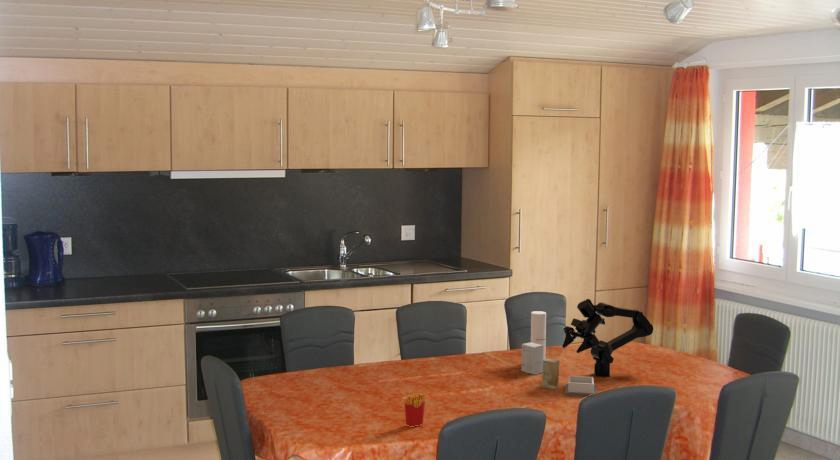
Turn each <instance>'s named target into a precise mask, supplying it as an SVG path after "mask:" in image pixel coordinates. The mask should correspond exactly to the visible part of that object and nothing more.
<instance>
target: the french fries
mask: <svg viewBox="0 0 840 460" xmlns="http://www.w3.org/2000/svg"><path fill="white" fill-rule="evenodd" d="M425 399H426V393H423V392H422V393H420V392H417V393H416V392H414V393H411V394H408V395H407V396H406V397H405V403H404V413H405V424H407V425H409V426H415V425H420V424H422V423H423V424H424V417H425V416H424V414H425V405H426V403H425Z"/></svg>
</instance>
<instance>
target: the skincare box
mask: <svg viewBox="0 0 840 460" xmlns="http://www.w3.org/2000/svg"><path fill="white" fill-rule="evenodd" d="M559 373H560V360H559V359H554V358H547V357H545V359H544V360H543V372H542V378H541V382H542V383H541V388H544V389H545V388H546V389H551V390H556V389H558V387H559V376H560V374H559Z"/></svg>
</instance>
